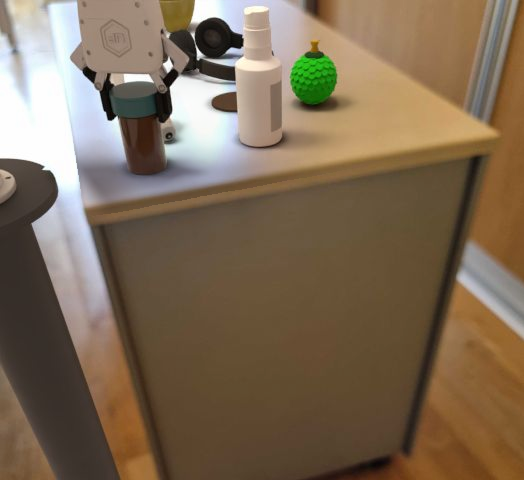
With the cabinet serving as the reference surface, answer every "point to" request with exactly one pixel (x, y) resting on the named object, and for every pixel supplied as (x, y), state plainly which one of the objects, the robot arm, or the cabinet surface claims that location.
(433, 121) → the cabinet surface
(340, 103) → the cabinet surface
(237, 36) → the headphones
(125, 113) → the lid
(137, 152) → the jar
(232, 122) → the cabinet surface
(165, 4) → the flower pot
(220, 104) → the coaster
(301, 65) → the ornament
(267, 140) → the spray bottle
